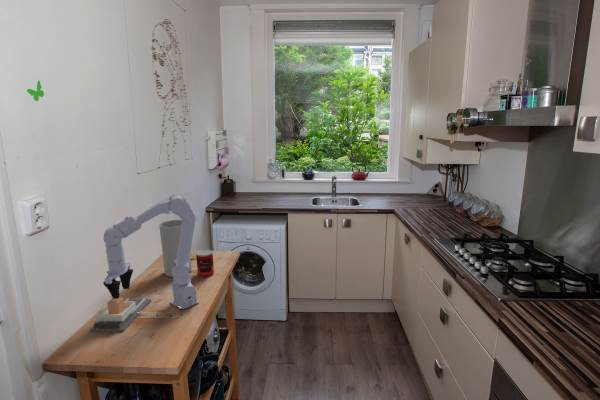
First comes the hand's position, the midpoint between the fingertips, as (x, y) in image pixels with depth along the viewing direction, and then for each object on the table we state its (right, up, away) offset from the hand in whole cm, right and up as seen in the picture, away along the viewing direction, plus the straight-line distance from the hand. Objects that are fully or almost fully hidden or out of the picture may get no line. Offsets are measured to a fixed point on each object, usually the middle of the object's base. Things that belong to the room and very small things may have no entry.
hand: (121, 293), depth 139 cm
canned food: (+22, -1, +39) cm, 45 cm away
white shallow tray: (-1, -8, -2) cm, 9 cm away
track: (0, -9, +2) cm, 9 cm away
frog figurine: (+4, +3, +59) cm, 59 cm away
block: (0, -7, -2) cm, 7 cm away
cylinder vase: (+8, 0, +41) cm, 42 cm away
